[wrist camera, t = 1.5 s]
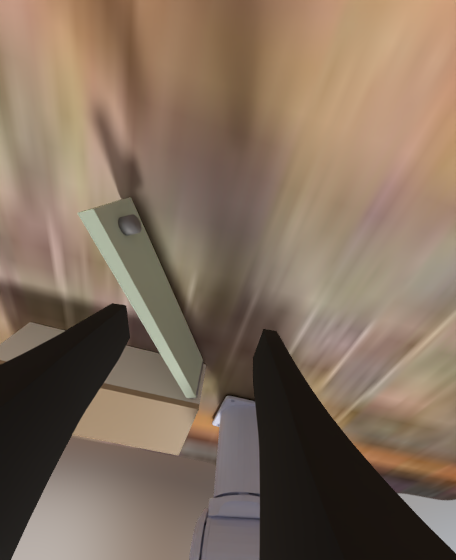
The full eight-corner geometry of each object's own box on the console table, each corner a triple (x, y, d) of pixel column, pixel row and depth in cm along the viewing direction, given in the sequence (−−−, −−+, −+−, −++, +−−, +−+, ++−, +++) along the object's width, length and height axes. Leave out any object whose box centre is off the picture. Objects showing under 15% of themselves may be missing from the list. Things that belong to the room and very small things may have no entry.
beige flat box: (206, 364, 24) (198, 409, 19) (187, 413, 30) (178, 455, 25) (29, 321, 22) (-23, 361, 17) (47, 382, 28) (12, 423, 23)
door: (211, 362, 23) (205, 400, 19) (196, 364, 23) (187, 401, 20) (140, 194, 14) (106, 205, 10) (118, 200, 14) (76, 213, 11)
